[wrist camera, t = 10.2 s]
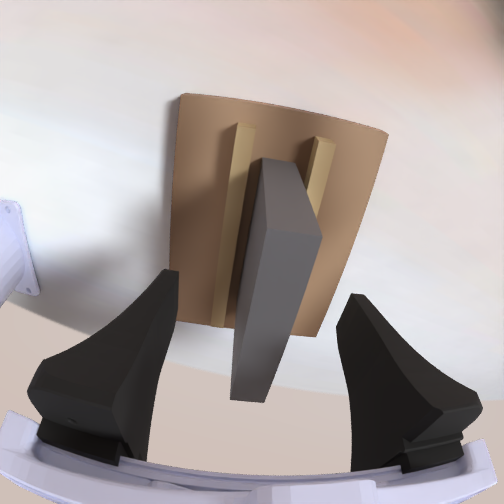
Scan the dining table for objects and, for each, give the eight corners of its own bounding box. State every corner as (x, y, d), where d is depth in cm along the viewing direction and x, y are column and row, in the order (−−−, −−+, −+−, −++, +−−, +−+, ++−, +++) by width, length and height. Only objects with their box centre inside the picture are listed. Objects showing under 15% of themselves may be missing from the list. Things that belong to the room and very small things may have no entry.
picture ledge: (172, 309, 21) (166, 330, 20) (185, 92, 14) (175, 96, 12) (313, 326, 22) (317, 347, 20) (381, 130, 15) (396, 139, 13)
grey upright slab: (236, 301, 19) (229, 399, 14) (262, 157, 15) (267, 228, 9) (263, 304, 20) (266, 402, 14) (297, 163, 15) (326, 237, 9)
